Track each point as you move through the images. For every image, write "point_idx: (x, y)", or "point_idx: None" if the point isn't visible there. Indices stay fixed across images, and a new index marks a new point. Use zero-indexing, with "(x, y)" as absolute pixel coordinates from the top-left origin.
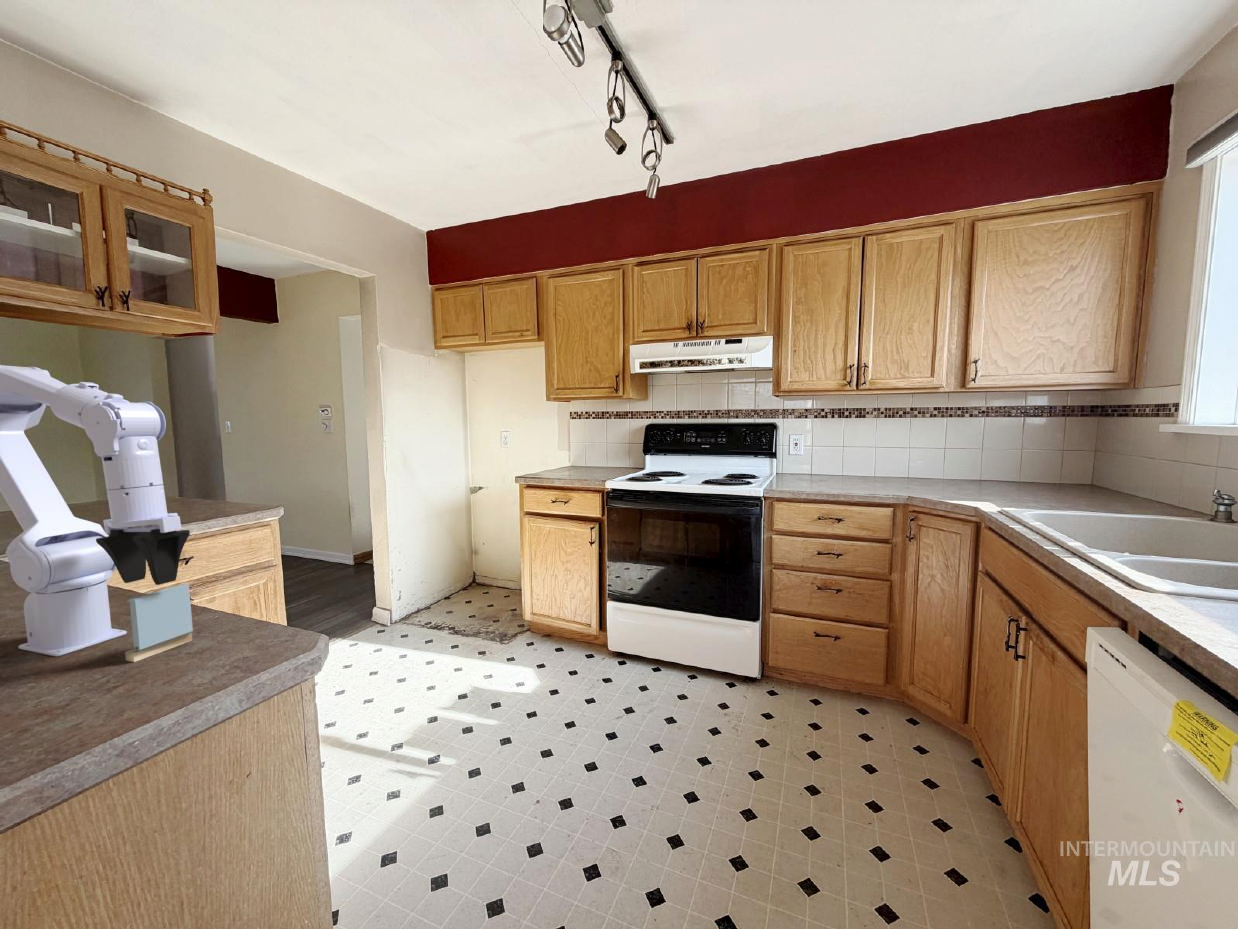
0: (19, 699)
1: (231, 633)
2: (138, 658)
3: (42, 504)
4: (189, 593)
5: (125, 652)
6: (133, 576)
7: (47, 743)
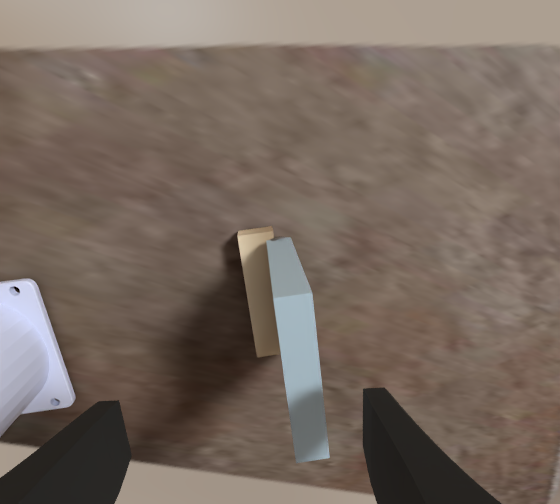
0: (266, 472)
1: (310, 145)
2: None
3: None
4: (306, 278)
5: (258, 356)
6: (117, 455)
7: (481, 483)
